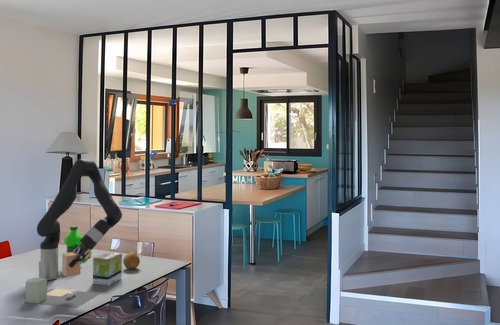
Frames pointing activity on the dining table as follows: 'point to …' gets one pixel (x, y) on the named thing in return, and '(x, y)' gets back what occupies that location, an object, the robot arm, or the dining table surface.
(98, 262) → the tea box
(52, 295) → the mat
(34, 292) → the grey-green block
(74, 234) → the plastic bottle
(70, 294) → the marble
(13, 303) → the dining table surface
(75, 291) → the marble
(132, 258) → the onion
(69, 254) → the orange block
